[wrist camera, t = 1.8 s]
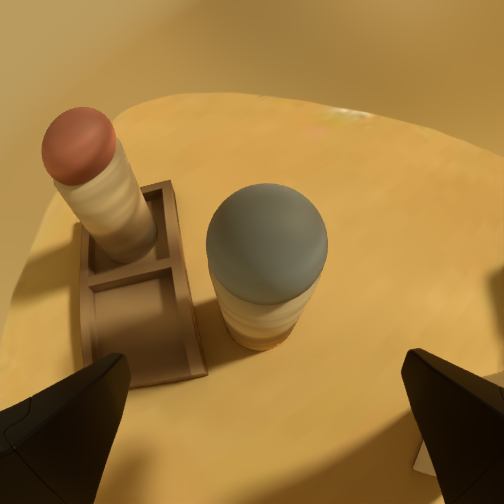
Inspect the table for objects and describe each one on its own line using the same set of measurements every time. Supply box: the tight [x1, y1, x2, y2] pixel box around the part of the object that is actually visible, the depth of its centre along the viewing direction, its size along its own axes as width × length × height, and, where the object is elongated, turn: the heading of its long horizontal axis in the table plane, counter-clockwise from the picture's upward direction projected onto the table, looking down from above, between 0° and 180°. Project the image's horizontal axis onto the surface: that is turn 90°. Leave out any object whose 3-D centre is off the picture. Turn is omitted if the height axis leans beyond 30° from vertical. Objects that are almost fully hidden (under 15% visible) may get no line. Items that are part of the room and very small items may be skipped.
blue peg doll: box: [206, 183, 328, 351], centre depth 15 cm, size 5×5×13 cm
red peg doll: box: [42, 107, 158, 264], centre depth 17 cm, size 5×5×13 cm
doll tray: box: [80, 180, 208, 388], centre depth 21 cm, size 16×9×2 cm, turn 15°
